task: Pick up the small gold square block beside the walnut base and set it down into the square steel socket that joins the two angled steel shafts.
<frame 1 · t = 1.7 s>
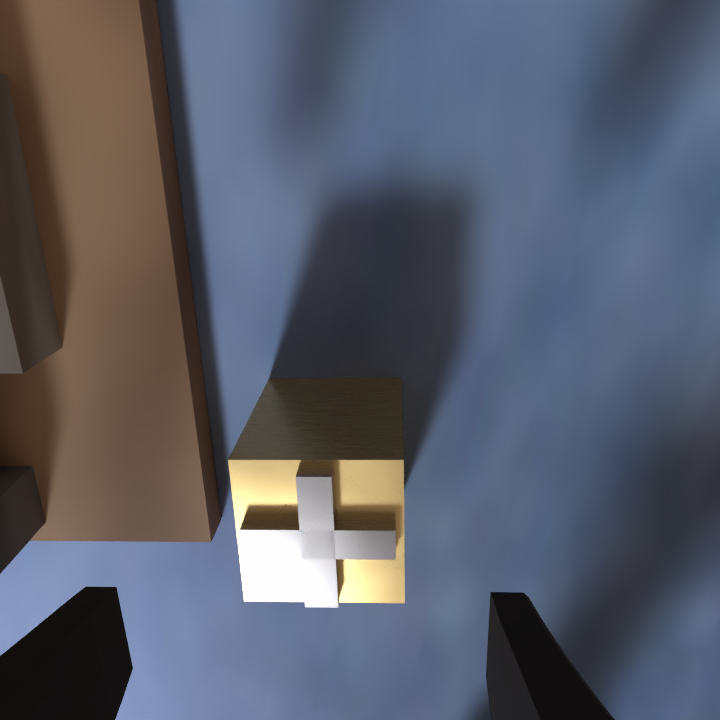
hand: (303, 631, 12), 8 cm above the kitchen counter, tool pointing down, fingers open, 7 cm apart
gold square block: (337, 437, 19), on the kitchen counter
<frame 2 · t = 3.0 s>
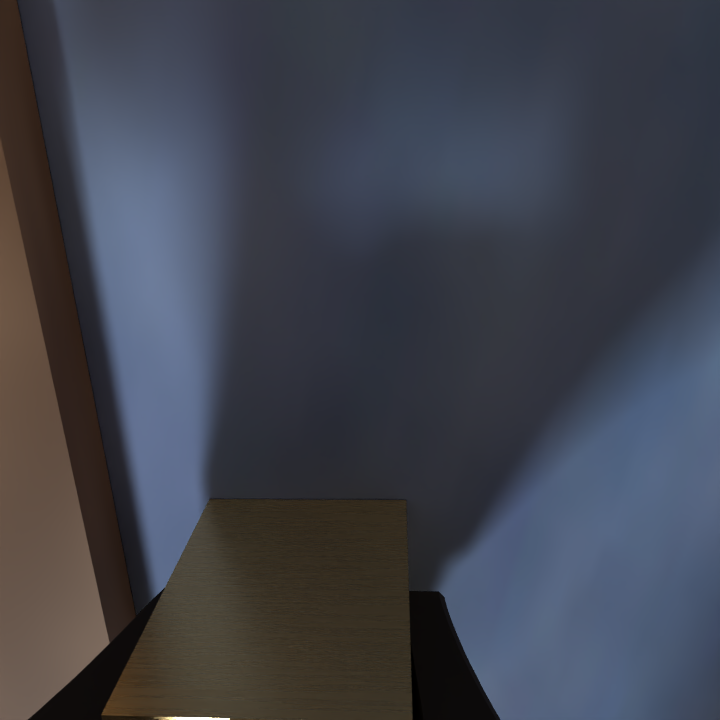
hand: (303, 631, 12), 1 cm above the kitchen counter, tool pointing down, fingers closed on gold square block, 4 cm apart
gold square block: (312, 580, 13), on the kitchen counter, touching gripper
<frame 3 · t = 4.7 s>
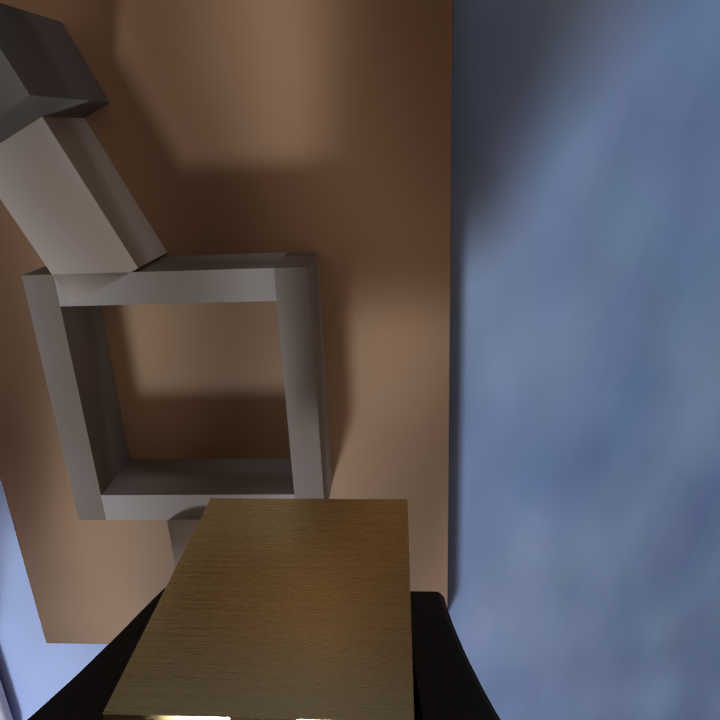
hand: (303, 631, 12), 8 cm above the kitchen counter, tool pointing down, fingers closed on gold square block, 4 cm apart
gold square block: (313, 579, 13), point 7 cm above the kitchen counter, touching gripper
coupling base: (216, 361, 19), on the kitchen counter
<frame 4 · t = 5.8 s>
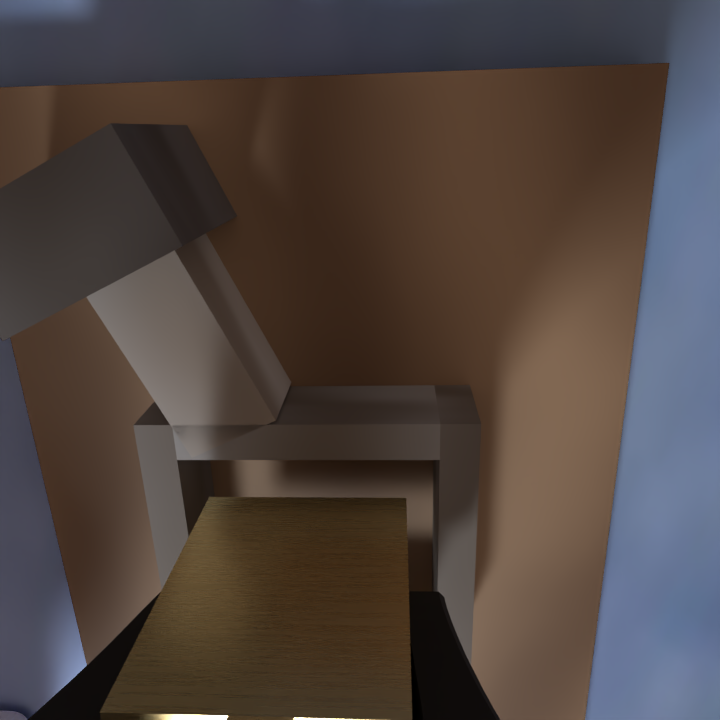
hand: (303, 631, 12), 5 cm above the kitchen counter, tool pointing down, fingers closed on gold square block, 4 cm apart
gold square block: (312, 578, 13), point 4 cm above the kitchen counter, touching gripper
coupling base: (328, 489, 17), on the kitchen counter
when the fingers open (4 cm above the kitchen counter, at t = 6.6 s): gold square block stays where it is, resting on coupling base.
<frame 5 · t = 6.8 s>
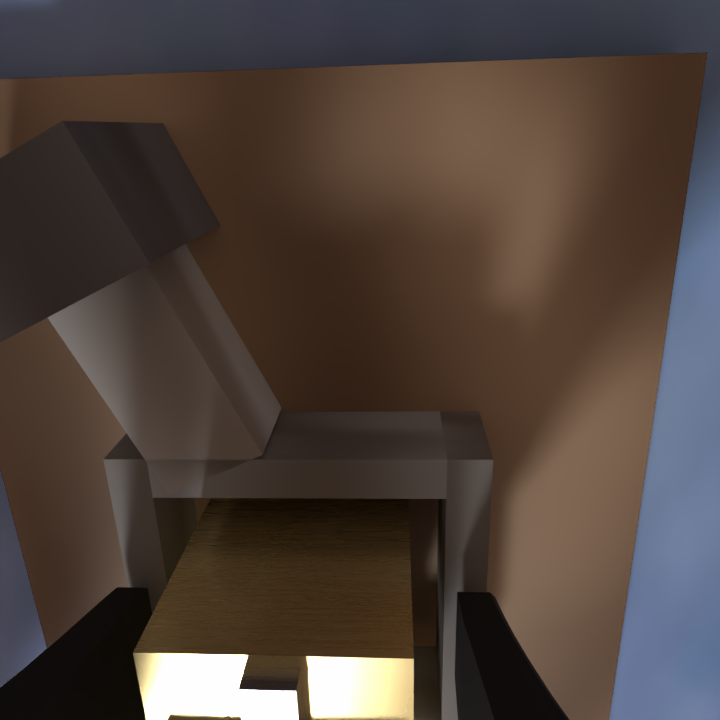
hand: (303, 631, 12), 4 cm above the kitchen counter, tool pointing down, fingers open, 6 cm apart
gold square block: (319, 549, 14), point 1 cm above the kitchen counter, touching coupling base
coupling base: (323, 520, 15), on the kitchen counter
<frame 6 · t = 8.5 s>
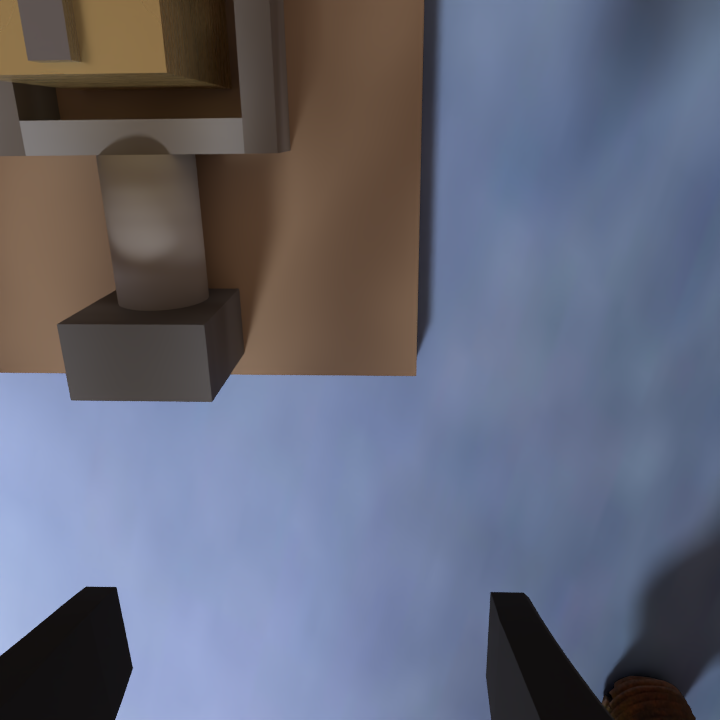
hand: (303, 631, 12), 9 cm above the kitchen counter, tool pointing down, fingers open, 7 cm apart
gold square block: (146, 3, 16), point 1 cm above the kitchen counter, touching coupling base
coupling base: (162, 14, 17), on the kitchen counter
bolt: (636, 694, 25), on the kitchen counter
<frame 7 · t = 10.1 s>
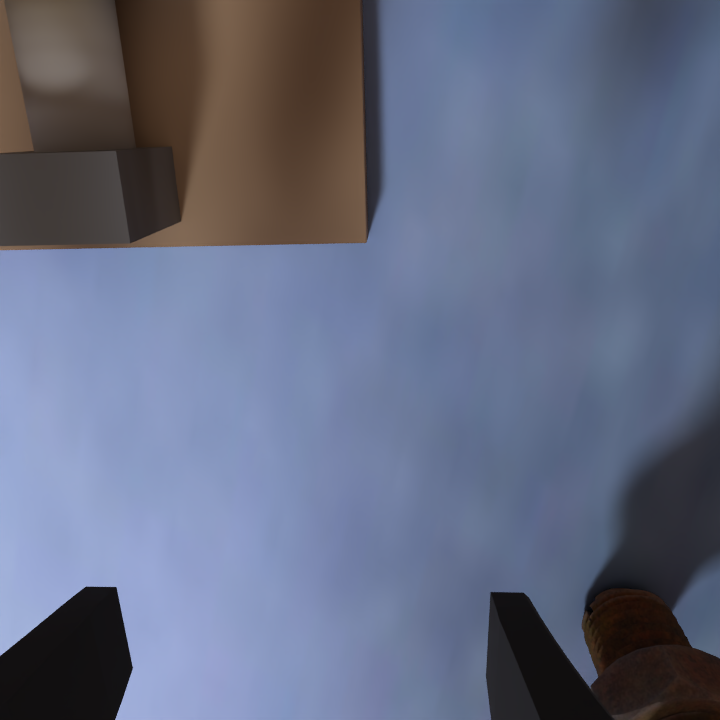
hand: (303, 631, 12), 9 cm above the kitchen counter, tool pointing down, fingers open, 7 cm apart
bolt: (620, 610, 23), on the kitchen counter
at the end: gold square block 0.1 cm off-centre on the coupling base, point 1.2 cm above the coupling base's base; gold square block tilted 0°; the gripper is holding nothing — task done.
